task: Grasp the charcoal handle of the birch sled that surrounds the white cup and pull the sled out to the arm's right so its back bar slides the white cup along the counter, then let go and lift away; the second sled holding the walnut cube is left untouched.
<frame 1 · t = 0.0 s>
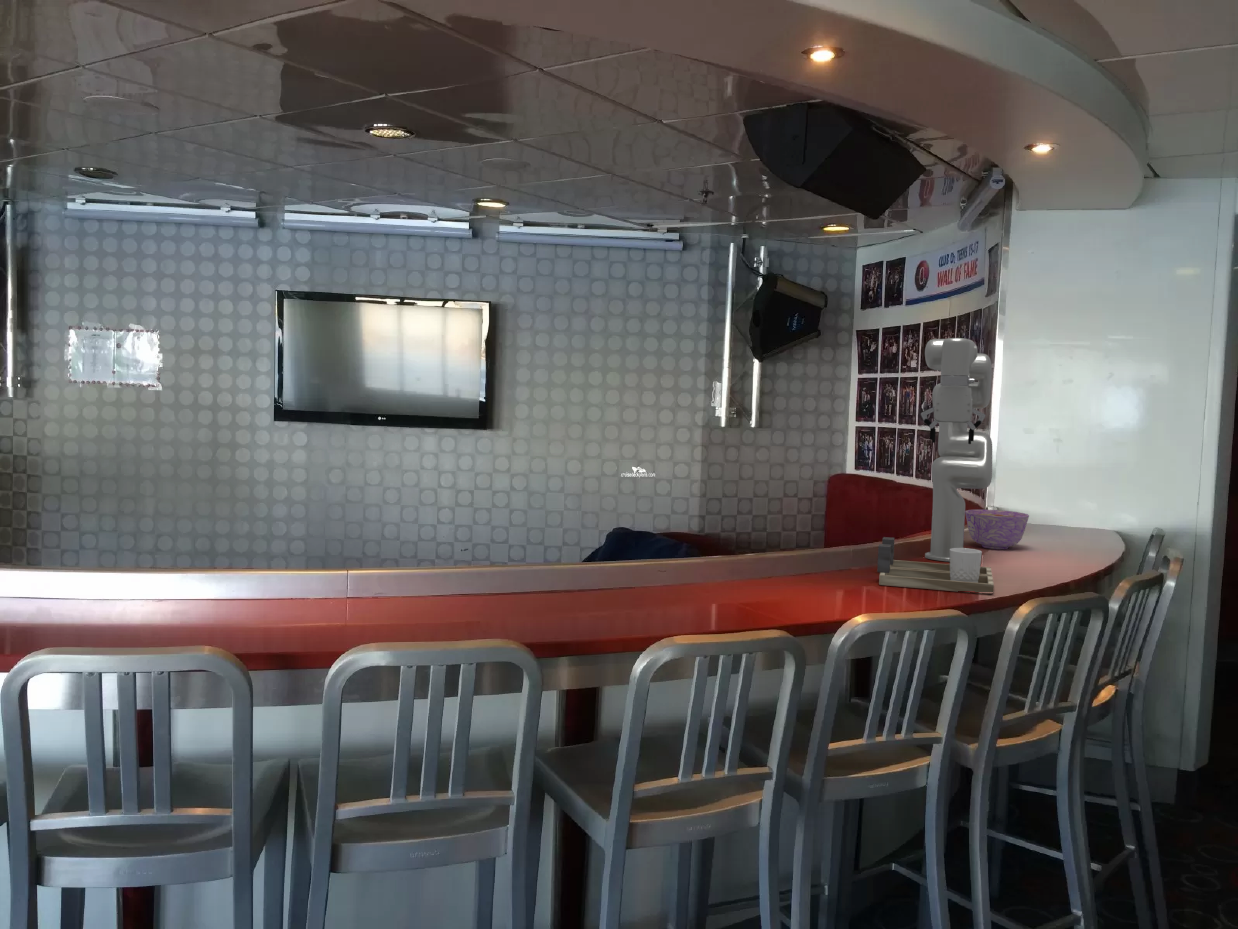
hand: (951, 443, 275), 37 cm above the bar counter, tool pointing down, fingers open, 9 cm apart
bowl of food: (994, 548, 326), on the bar counter
white cup: (963, 589, 254), resting in glass sled
glass sled: (934, 567, 256), point 5 cm above the bar counter, slide at 0.0 cm
cube sled: (936, 558, 270), point 5 cm above the bar counter, slide at 0.0 cm
walnut cube: (959, 579, 268), resting in cube sled
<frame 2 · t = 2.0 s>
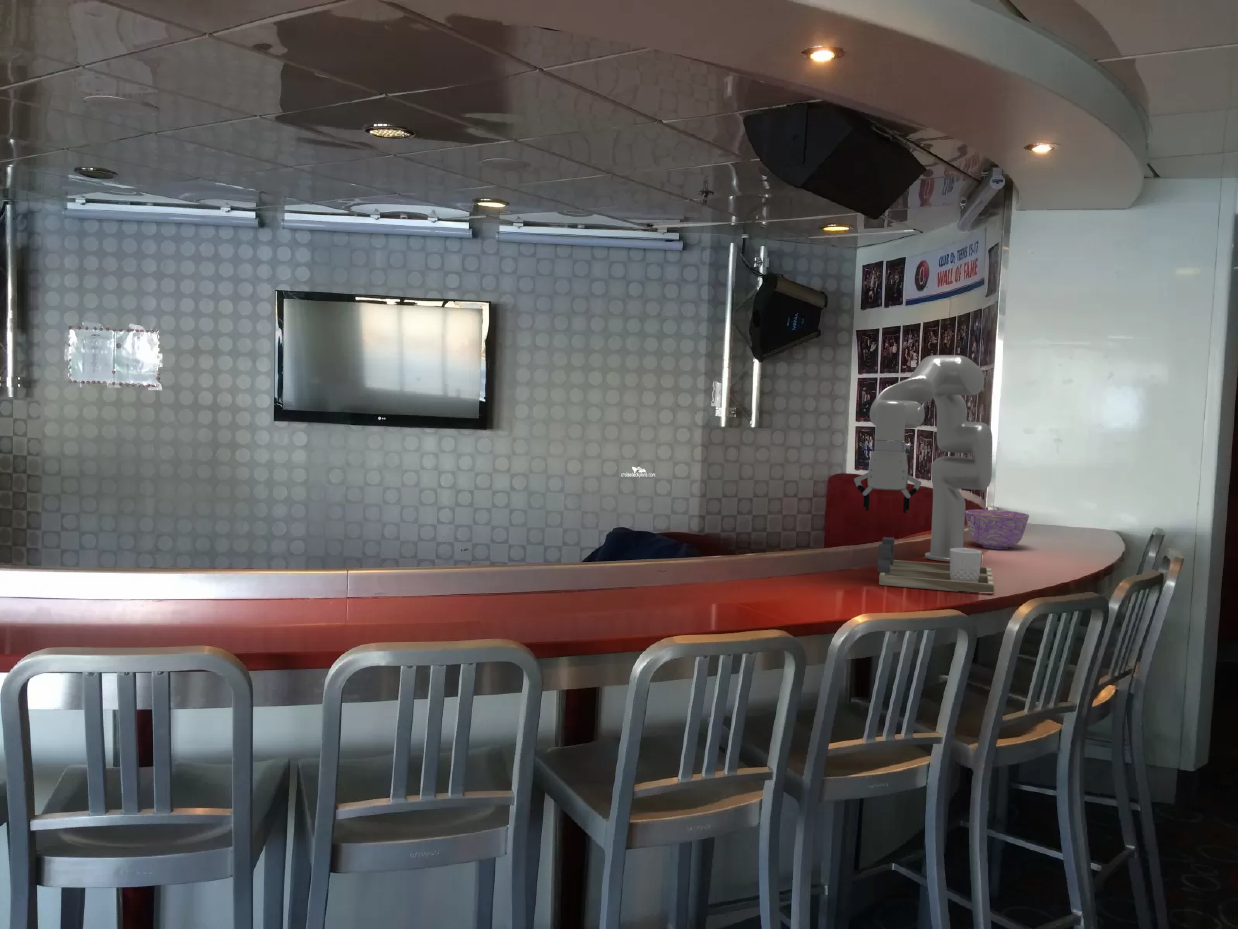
hand: (885, 511, 259), 19 cm above the bar counter, tool pointing down, fingers open, 9 cm apart
nothing on the bar counter moved.
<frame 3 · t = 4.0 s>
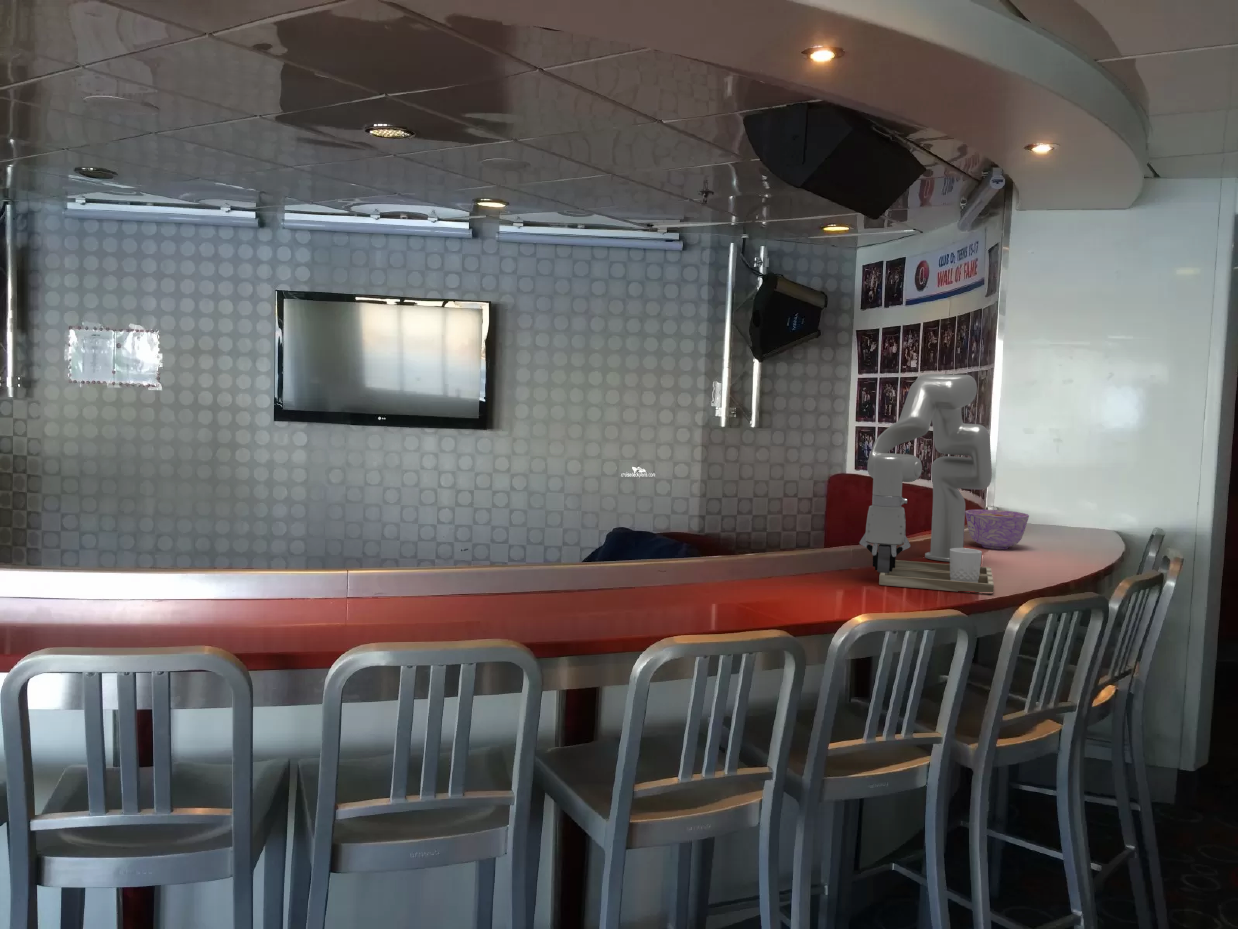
hand: (883, 569, 261), 3 cm above the bar counter, tool pointing down, fingers closed on glass sled, 3 cm apart
glass sled: (934, 567, 256), point 5 cm above the bar counter, slide at 0.0 cm, touching gripper
everything else where it was.
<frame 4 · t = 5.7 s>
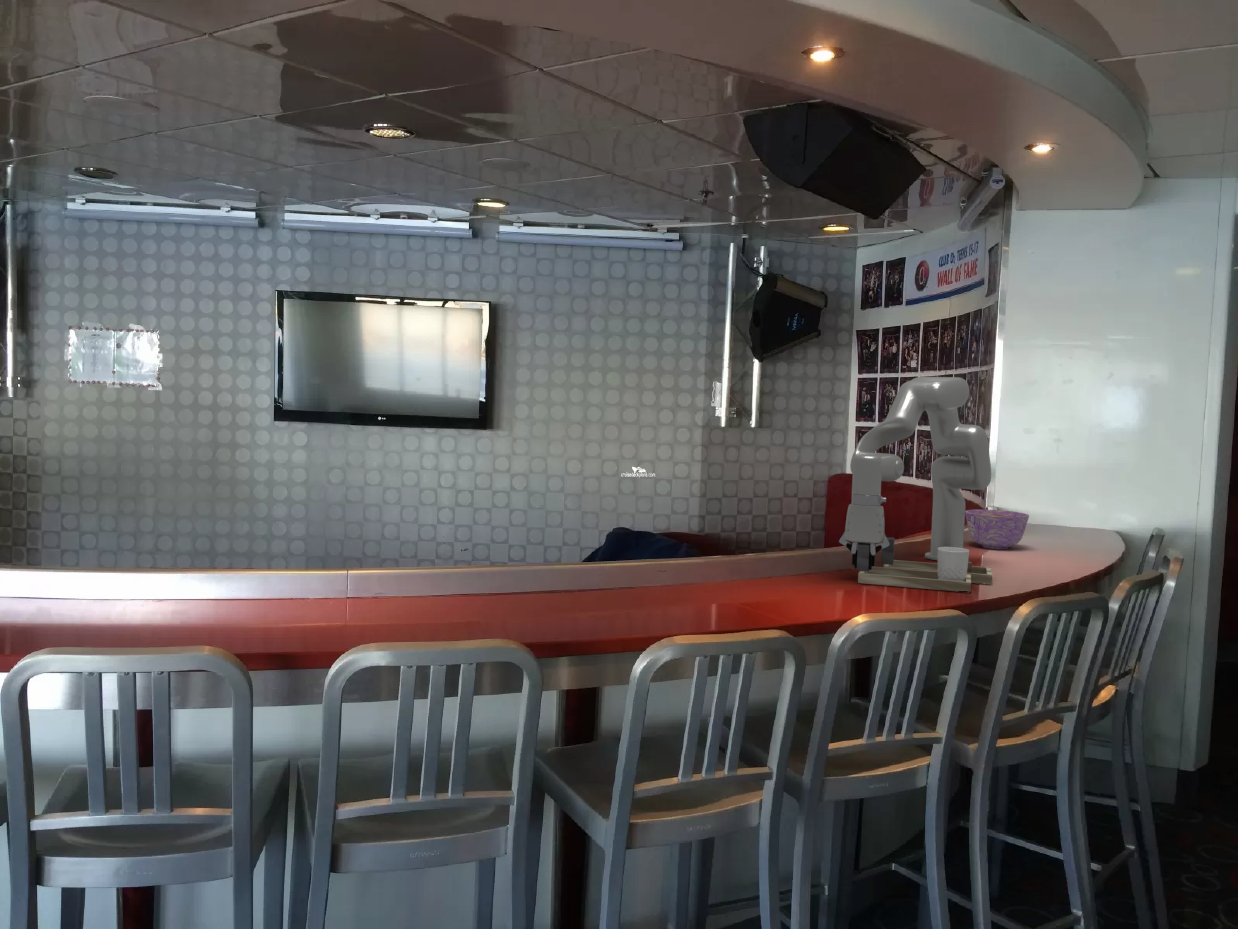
hand: (863, 567, 263), 3 cm above the bar counter, tool pointing down, fingers closed on glass sled, 3 cm apart
white cup: (951, 587, 255), resting in glass sled
glass sled: (913, 565, 258), point 5 cm above the bar counter, slide at 5.4 cm, touching white cup, gripper
everything else where it was.
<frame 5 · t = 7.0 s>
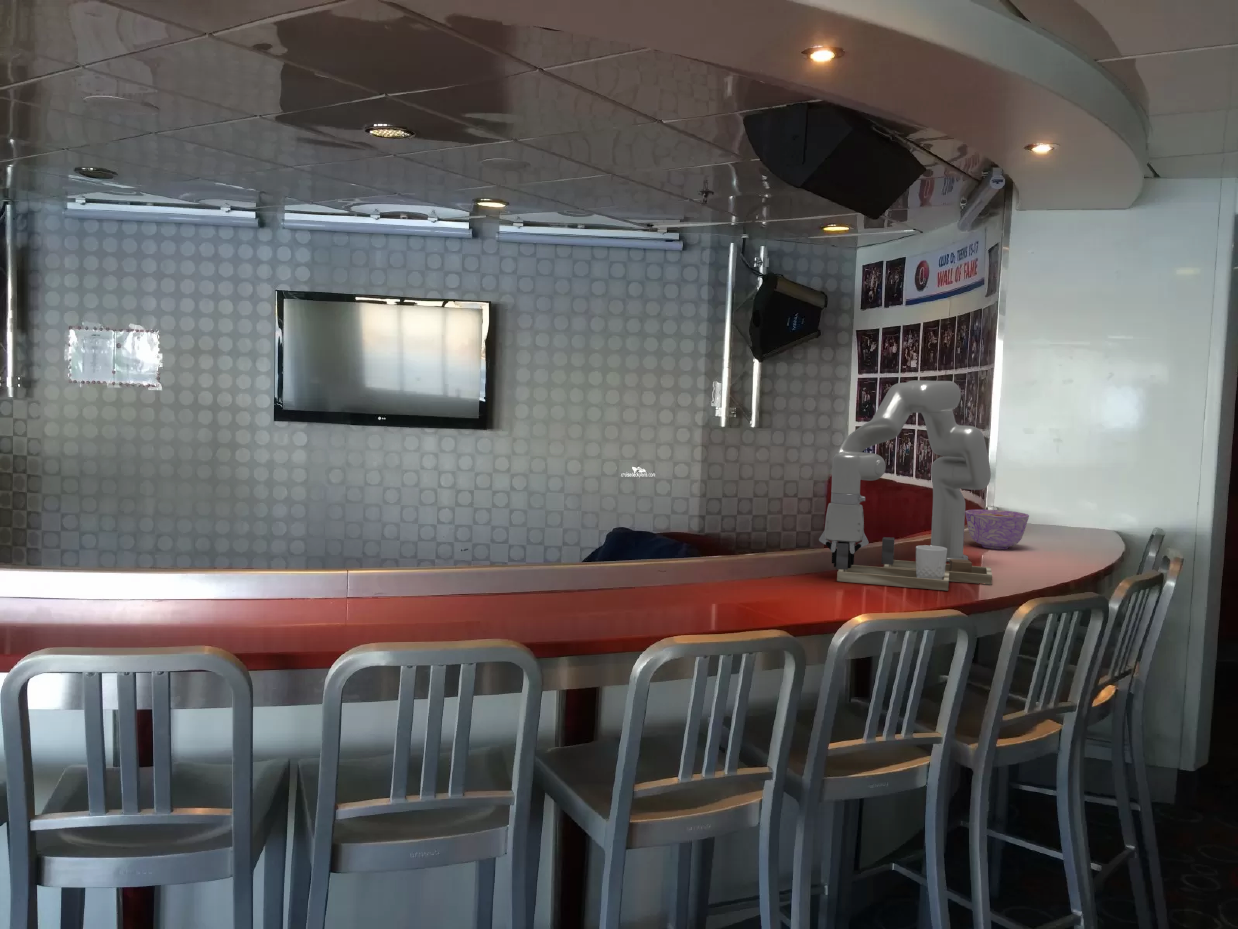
hand: (842, 566, 264), 3 cm above the bar counter, tool pointing down, fingers closed on glass sled, 3 cm apart
white cup: (929, 586, 257), resting in glass sled
glass sled: (892, 563, 260), point 5 cm above the bar counter, slide at 10.8 cm, touching white cup, gripper
everything else where it was.
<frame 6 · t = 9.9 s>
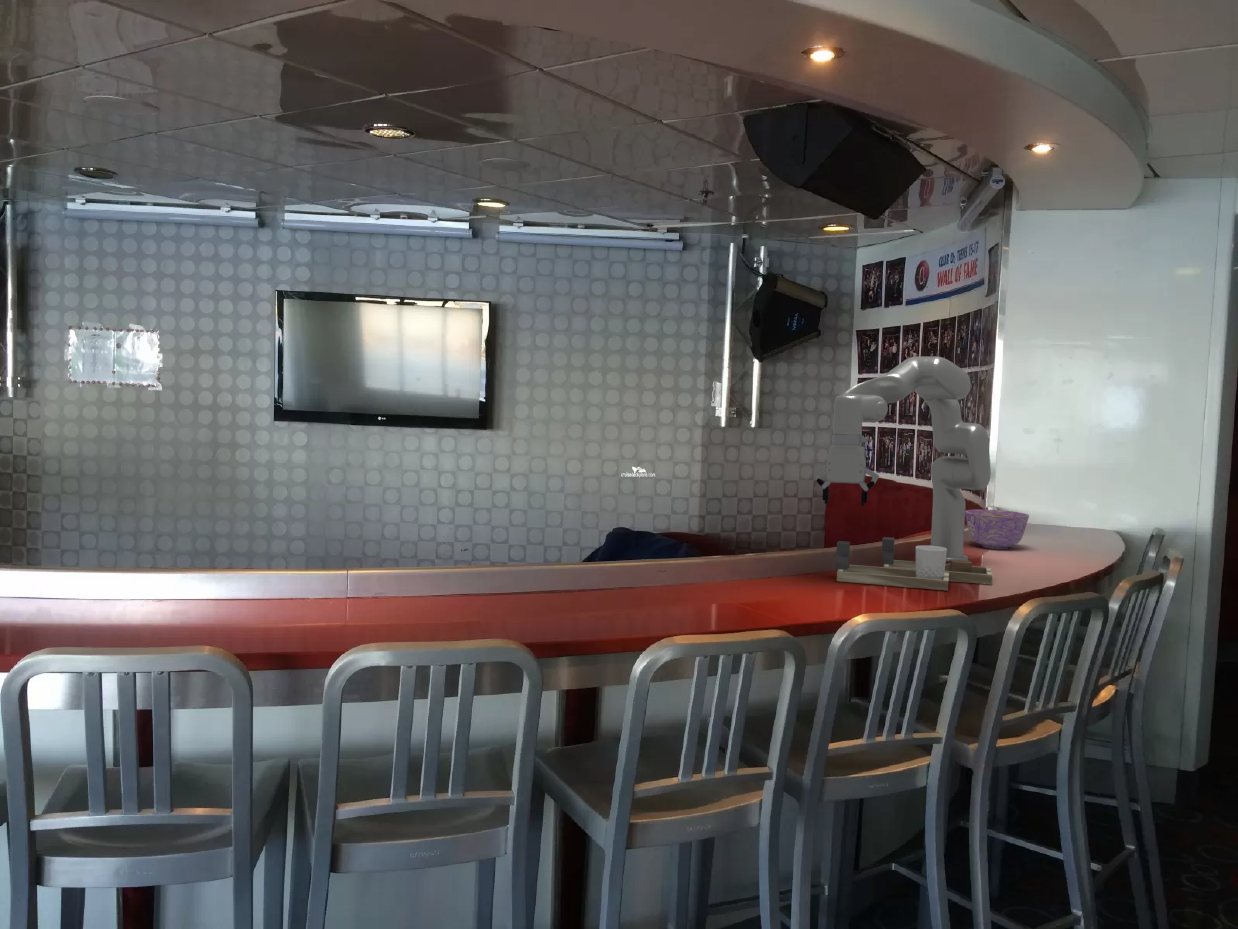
hand: (844, 504, 263), 20 cm above the bar counter, tool pointing down, fingers open, 9 cm apart
white cup: (929, 586, 257), resting in glass sled
glass sled: (892, 563, 260), point 5 cm above the bar counter, slide at 10.9 cm
everything else where it was.
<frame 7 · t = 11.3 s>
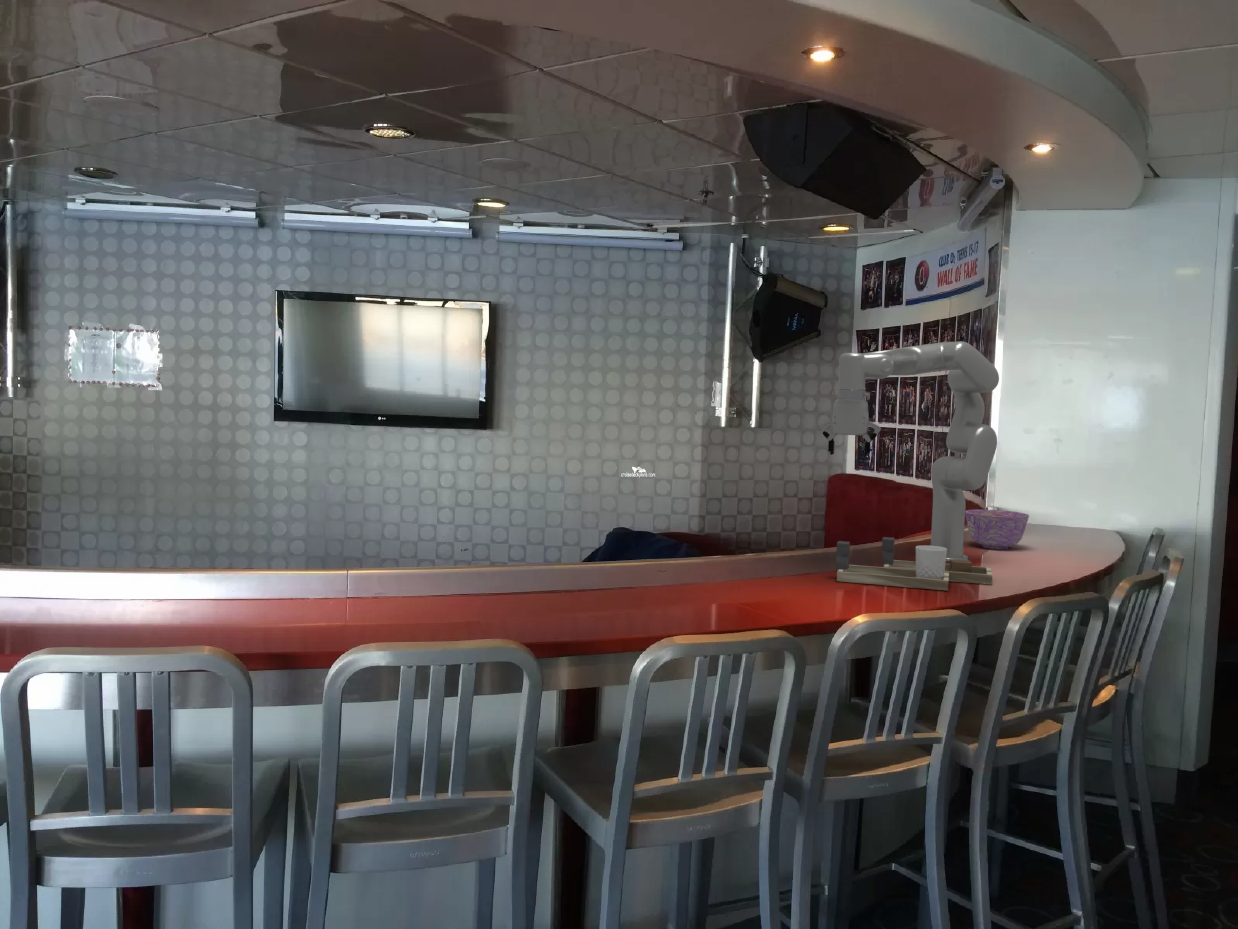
hand: (848, 455, 283), 32 cm above the bar counter, tool pointing down, fingers open, 9 cm apart
nothing on the bar counter moved.
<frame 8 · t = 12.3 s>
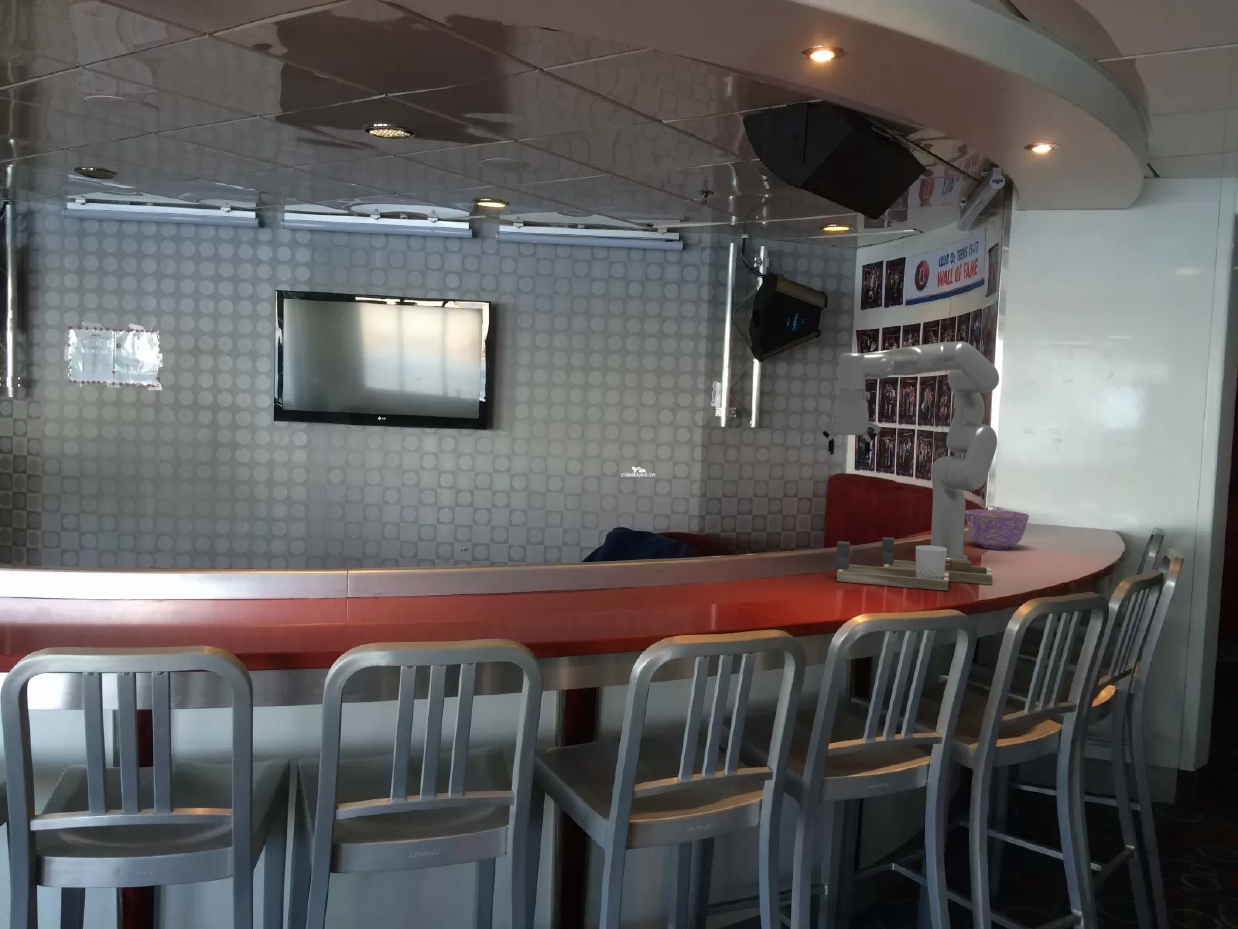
hand: (848, 454, 283), 32 cm above the bar counter, tool pointing down, fingers open, 9 cm apart
nothing on the bar counter moved.
at the end: glass sled slide at 10.9 cm; white cup inside the target area (3.4 cm from its centre), resting in glass sled; white cup tilted 0° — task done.
